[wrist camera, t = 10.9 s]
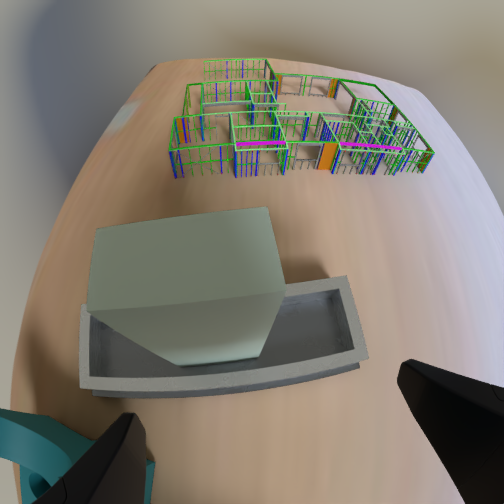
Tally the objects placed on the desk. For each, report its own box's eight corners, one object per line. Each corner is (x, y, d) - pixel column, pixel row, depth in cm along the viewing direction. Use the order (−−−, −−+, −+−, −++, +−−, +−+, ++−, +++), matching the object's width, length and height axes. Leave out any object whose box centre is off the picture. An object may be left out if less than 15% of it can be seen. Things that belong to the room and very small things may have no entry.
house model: (175, 186, 30) (167, 155, 26) (187, 83, 45) (185, 62, 41) (424, 179, 34) (437, 157, 29) (352, 85, 48) (357, 68, 44)
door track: (333, 285, 24) (344, 269, 21) (354, 369, 20) (370, 364, 18) (98, 311, 22) (81, 298, 19) (99, 396, 18) (80, 394, 15)
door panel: (251, 321, 21) (267, 206, 9) (257, 358, 20) (286, 290, 8) (177, 330, 20) (96, 228, 8) (180, 367, 19) (86, 311, 7)
